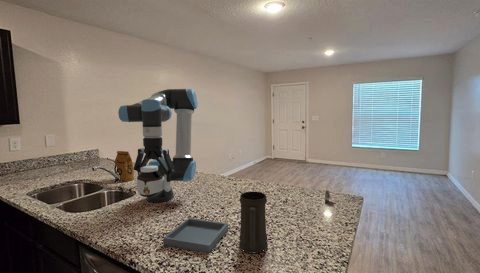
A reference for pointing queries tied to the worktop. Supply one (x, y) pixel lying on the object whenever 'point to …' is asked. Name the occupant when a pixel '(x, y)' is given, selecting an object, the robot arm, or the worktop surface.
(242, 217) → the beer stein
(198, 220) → the tray
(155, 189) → the spread jar
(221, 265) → the worktop surface
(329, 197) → the architectural model
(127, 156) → the coffee package
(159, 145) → the robot arm
